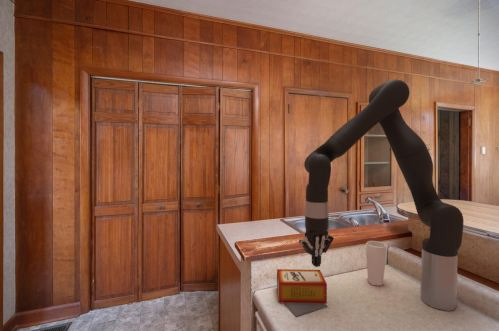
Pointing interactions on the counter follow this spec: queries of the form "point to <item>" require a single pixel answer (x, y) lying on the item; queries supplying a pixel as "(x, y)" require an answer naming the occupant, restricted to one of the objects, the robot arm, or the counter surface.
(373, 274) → the pinkish beige cup
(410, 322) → the counter surface
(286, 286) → the baking soda box
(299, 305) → the mat
